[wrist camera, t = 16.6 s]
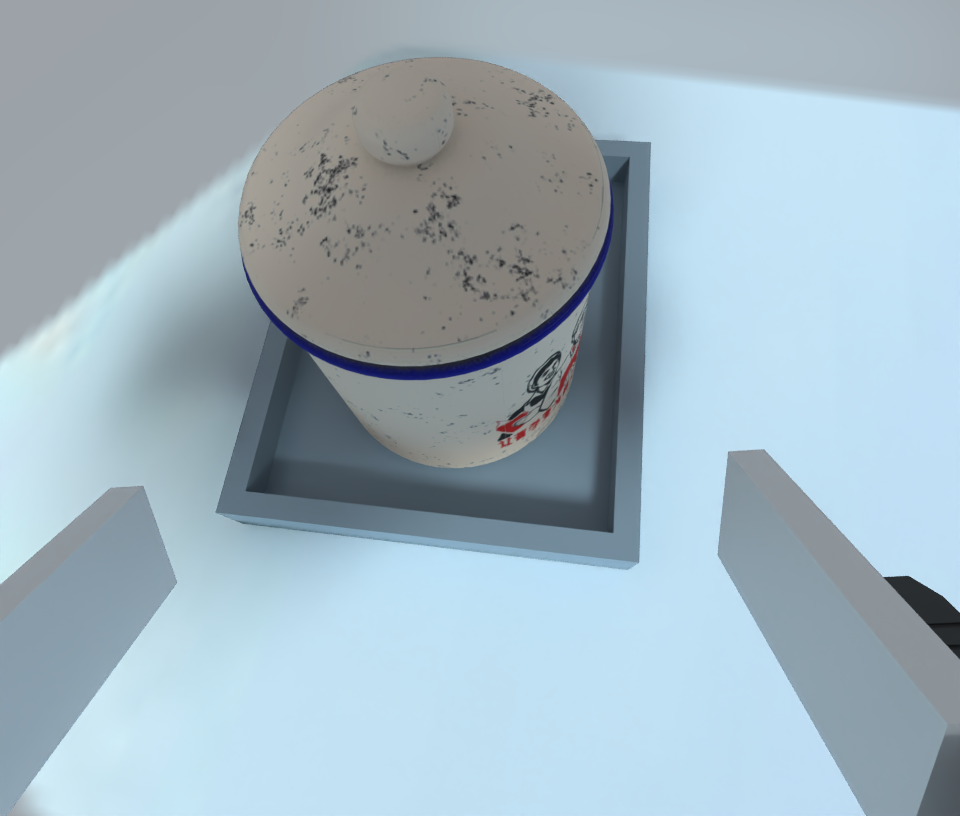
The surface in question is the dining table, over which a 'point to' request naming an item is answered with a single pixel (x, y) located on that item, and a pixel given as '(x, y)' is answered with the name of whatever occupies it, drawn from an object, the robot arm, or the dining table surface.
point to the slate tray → (485, 488)
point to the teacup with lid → (432, 250)
